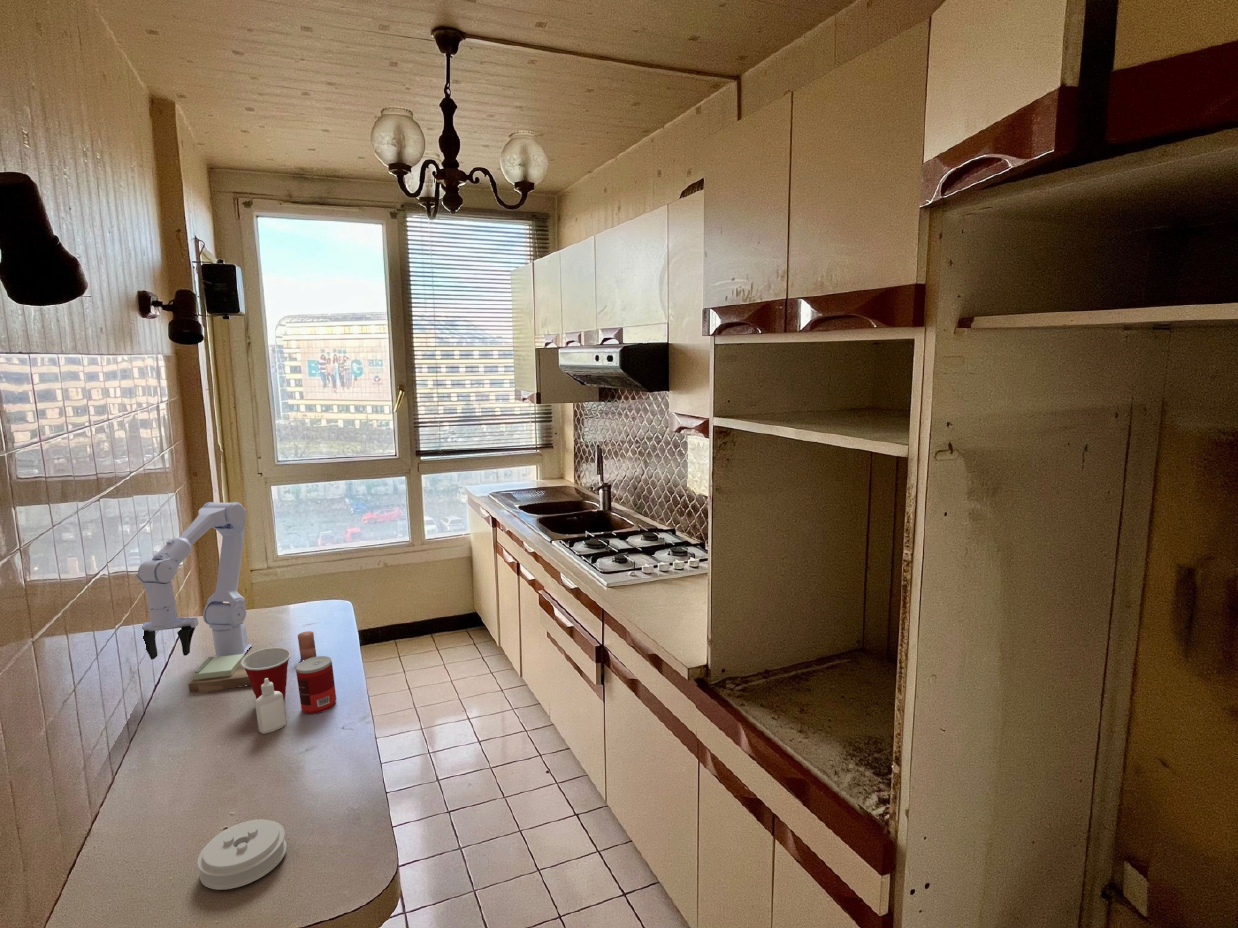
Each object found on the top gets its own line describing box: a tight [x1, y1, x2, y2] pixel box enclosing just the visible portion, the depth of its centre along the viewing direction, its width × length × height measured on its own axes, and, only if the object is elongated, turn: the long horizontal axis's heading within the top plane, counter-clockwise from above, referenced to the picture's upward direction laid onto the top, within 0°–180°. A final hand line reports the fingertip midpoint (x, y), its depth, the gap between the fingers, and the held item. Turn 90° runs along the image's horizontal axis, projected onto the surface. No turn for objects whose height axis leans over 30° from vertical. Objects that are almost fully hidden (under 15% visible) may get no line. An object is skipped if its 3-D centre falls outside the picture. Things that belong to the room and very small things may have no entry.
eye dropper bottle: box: [254, 678, 288, 735], centre depth 155 cm, size 4×6×12 cm
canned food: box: [295, 655, 337, 715], centre depth 164 cm, size 8×8×11 cm
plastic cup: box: [241, 646, 292, 700], centre depth 167 cm, size 11×11×12 cm
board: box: [188, 655, 251, 694], centre depth 183 cm, size 14×18×2 cm
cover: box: [192, 654, 246, 680], centre depth 182 cm, size 10×9×2 cm
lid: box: [197, 819, 288, 891], centre depth 113 cm, size 13×13×5 cm
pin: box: [297, 631, 317, 661], centre depth 192 cm, size 4×4×7 cm
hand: (170, 655), depth 177 cm, fingers open, 7 cm apart
